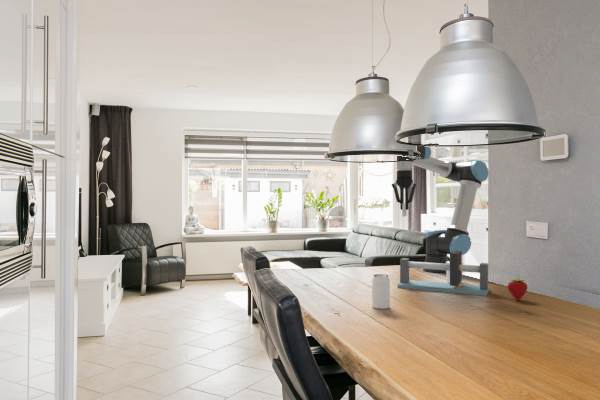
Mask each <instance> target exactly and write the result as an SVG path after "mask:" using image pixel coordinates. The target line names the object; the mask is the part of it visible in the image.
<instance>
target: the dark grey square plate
mask: <svg viewBox="0 0 600 400" xmlns="http://www.w3.org/2000/svg"><path fill="white" fill-rule="evenodd" d="M462 256H463V255H462V251H457V250H455V251H453V252H451V253H450V254H449V261H450V286H458V285H459V284H461V283H460V282H461V281H463V271H459V264H461V265H462V261H463V260H462V259H463V257H462Z"/></svg>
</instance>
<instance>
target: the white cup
mask: <svg viewBox="0 0 600 400" xmlns="http://www.w3.org/2000/svg"><path fill="white" fill-rule="evenodd" d="M446 264H450V260H448V261H446ZM462 265H464V261H463V262H462ZM445 274H446V283H450V271H449V270H446V272H445ZM462 281H463V280H462ZM462 281H461V282H460V283H459V284H463V283H462Z"/></svg>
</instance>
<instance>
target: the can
mask: <svg viewBox="0 0 600 400" xmlns="http://www.w3.org/2000/svg"><path fill="white" fill-rule="evenodd" d="M371 282H372V283H371V289H372V290H371V297H372V298H371V301H372V302H371V305H372V308H373V309H377V310H388V309H389V308H390V305H391V301H390V300H391V296H390V295H391V292H390V291H391V290H390V287H391V285H390V277H389V274H383V273H382V274H381V273H379V274H377V273H376V274H373V277H372V280H371Z"/></svg>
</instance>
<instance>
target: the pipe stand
mask: <svg viewBox="0 0 600 400" xmlns="http://www.w3.org/2000/svg"><path fill="white" fill-rule="evenodd" d="M410 269H421V270H423V269H434V270H449V271H450V264H444V263H428V262H424V261H412V260H411V261H410V258H409V257H408V258H407V257H403V258H400V259H399V274H400V275H399V283H398V284H397V288H399V289H409V290H420V291H429V290H430V292H431V291H432V292H440V291H442V293H443V292H444V293H451V292H452V293H453V294H454V293H455V294H463V295H465V294H466V295H474V296H487V295H488V293H489V291H490V286H489V263H487V262H481V263H479V265H473V264H463V265H461V264H459V271H462V273H463V272H466V273H479V285H475V284H474V285H473V284H465V283H459V285H458V286H450V283H448V282H438V281H427V280H414V279H413V280H412V279H410Z"/></svg>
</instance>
